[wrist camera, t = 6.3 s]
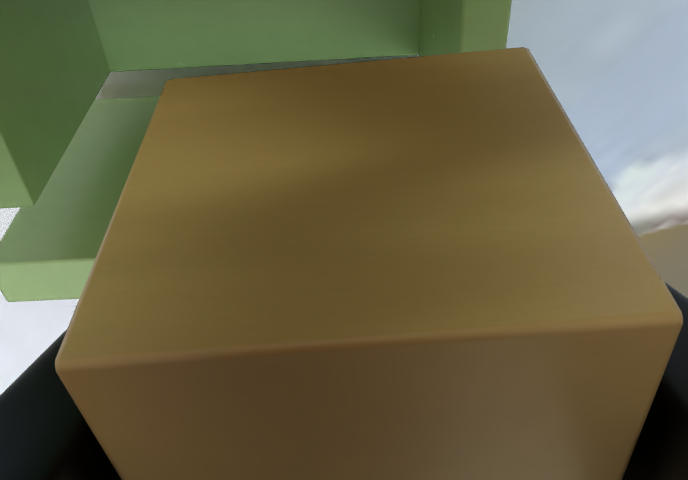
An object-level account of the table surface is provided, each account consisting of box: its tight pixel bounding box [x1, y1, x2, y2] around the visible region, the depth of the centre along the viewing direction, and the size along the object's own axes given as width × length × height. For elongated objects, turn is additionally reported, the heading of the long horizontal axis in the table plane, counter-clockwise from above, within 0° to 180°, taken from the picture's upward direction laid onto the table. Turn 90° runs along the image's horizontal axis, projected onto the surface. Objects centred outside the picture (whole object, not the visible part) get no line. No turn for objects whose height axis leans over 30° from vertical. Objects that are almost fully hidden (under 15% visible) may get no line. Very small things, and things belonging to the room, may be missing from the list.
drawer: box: [0, 0, 512, 302], centre depth 14 cm, size 18×11×7 cm, turn 3°
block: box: [55, 47, 683, 480], centre depth 7 cm, size 4×4×4 cm
